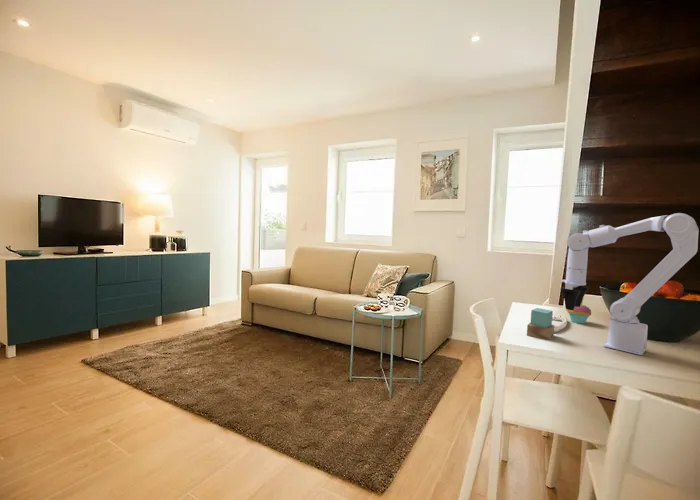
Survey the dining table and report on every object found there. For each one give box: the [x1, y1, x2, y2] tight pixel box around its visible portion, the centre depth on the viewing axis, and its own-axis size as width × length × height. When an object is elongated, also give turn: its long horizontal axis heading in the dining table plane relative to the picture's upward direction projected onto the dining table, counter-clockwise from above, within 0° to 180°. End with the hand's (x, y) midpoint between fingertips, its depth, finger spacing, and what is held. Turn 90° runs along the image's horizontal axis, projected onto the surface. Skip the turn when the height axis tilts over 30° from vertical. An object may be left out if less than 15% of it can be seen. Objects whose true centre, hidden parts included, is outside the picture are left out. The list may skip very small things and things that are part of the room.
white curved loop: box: [552, 313, 568, 333], centre depth 134 cm, size 3×10×25 cm
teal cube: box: [529, 307, 554, 328], centre depth 120 cm, size 5×5×5 cm
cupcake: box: [565, 296, 592, 325], centre depth 139 cm, size 9×8×12 cm
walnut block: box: [526, 321, 555, 341], centre depth 120 cm, size 7×7×4 cm
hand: (573, 307), depth 120 cm, fingers open, 7 cm apart
